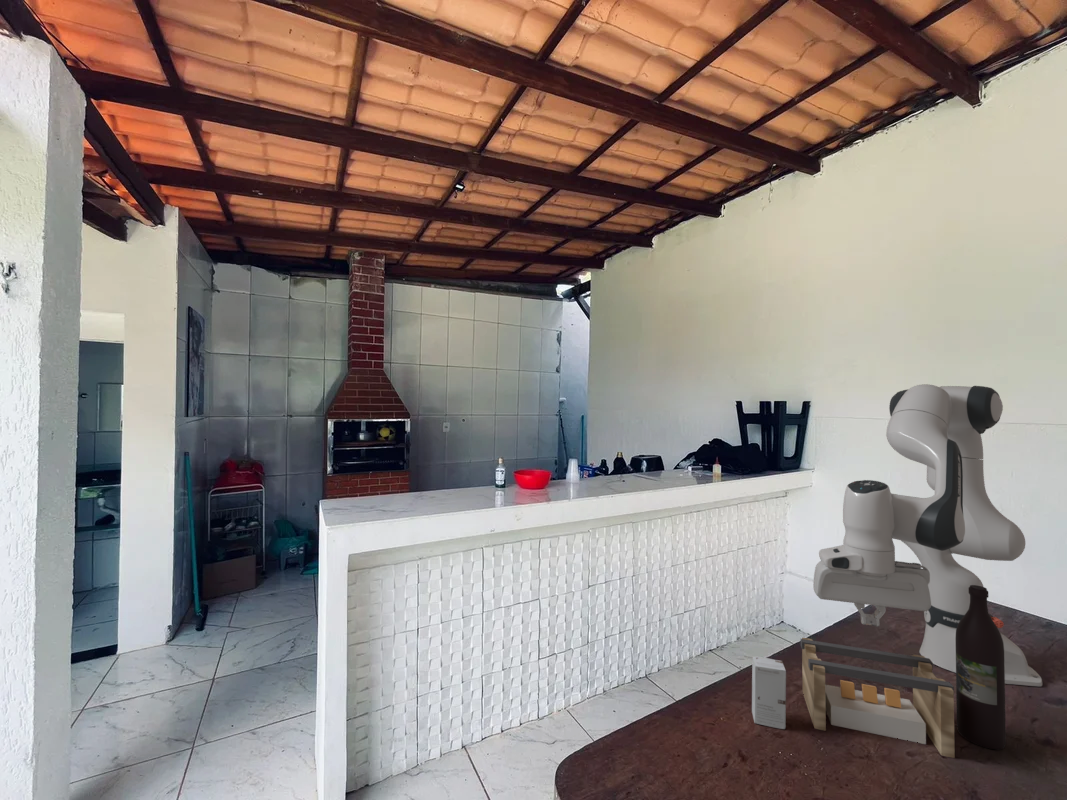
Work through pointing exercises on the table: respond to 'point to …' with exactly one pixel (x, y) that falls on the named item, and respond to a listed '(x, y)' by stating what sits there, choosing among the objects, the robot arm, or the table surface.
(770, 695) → the skincare box
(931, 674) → the rack
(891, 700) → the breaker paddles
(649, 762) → the table surface
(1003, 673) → the wine bottle
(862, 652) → the long charcoal square rod
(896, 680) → the grey bar
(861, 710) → the breaker strip
